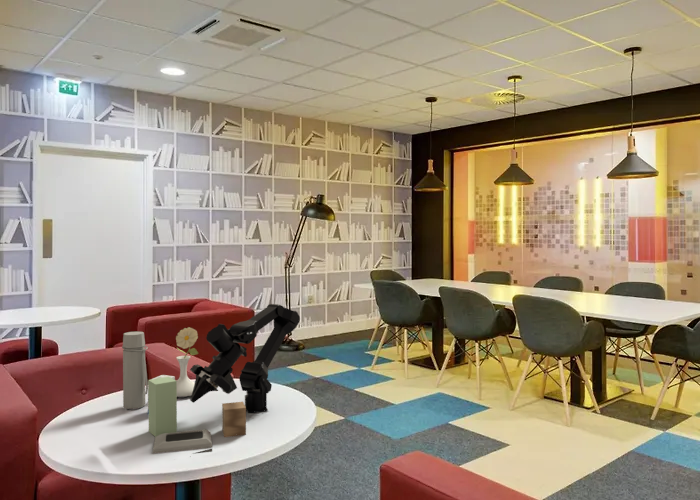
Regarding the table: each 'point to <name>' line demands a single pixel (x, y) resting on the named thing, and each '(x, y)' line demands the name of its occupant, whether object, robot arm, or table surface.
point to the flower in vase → (185, 360)
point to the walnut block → (233, 419)
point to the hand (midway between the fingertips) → (191, 401)
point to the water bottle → (134, 370)
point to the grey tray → (183, 441)
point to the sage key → (162, 405)
